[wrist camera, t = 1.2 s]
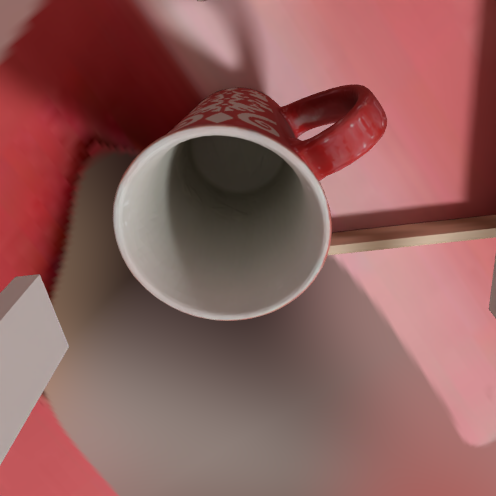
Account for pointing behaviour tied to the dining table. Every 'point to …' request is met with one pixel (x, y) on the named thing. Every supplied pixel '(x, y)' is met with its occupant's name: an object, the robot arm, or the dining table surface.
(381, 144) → the dining table surface
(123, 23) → the dining table surface
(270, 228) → the mug
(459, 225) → the channel
